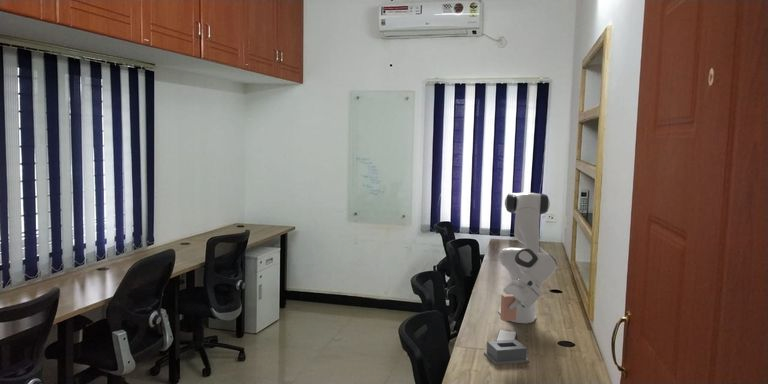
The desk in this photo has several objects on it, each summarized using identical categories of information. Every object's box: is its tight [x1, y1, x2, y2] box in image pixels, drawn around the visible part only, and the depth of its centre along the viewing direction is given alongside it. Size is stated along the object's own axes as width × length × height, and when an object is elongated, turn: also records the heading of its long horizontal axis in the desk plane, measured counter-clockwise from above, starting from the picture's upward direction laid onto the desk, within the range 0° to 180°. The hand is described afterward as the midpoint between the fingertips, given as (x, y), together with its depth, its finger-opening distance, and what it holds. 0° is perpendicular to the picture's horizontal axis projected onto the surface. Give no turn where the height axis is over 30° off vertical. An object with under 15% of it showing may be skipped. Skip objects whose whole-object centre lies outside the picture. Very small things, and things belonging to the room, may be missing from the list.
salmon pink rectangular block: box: [500, 293, 517, 322], centre depth 234 cm, size 3×6×11 cm, turn 103°
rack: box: [483, 338, 530, 366], centre depth 236 cm, size 12×16×6 cm
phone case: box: [495, 329, 518, 341], centre depth 260 cm, size 9×2×16 cm
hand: (507, 306), depth 234 cm, fingers closed on salmon pink rectangular block, 3 cm apart
